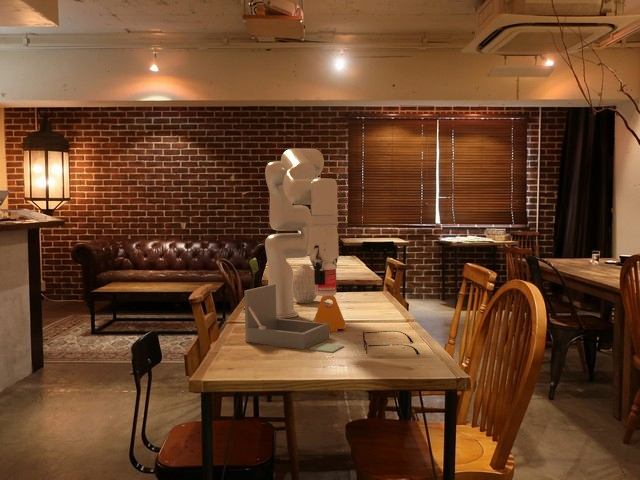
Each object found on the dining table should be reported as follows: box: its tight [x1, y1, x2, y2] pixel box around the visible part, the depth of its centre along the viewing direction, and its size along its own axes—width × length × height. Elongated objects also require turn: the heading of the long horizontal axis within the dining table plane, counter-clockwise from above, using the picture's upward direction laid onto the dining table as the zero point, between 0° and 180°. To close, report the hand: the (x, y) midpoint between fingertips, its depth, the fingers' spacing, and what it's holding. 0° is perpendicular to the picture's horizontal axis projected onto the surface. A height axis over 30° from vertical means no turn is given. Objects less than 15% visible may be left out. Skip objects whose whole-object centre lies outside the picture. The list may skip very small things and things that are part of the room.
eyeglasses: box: [362, 330, 420, 355], centre depth 157 cm, size 16×16×4 cm
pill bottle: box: [315, 257, 337, 297], centre depth 157 cm, size 6×6×11 cm
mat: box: [309, 342, 345, 354], centre depth 158 cm, size 8×8×1 cm
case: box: [243, 284, 330, 350], centre depth 168 cm, size 21×16×16 cm
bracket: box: [312, 295, 346, 332], centre depth 183 cm, size 11×7×12 cm, turn 90°
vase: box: [293, 263, 318, 304], centre depth 236 cm, size 13×13×17 cm
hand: (325, 282), depth 157 cm, fingers closed on pill bottle, 6 cm apart
